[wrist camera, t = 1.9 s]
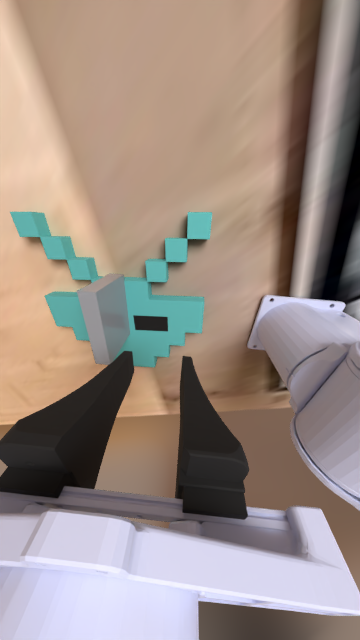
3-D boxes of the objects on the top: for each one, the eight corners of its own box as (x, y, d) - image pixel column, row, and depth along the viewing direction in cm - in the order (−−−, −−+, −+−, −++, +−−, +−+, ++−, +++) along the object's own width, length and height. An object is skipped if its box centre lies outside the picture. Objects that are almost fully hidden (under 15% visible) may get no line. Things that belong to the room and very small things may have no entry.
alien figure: (29, 213, 19) (80, 352, 28) (9, 211, 17) (71, 362, 26) (210, 214, 17) (198, 359, 27) (212, 212, 15) (198, 370, 25)
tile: (123, 274, 19) (95, 292, 14) (130, 333, 23) (110, 364, 17) (109, 273, 19) (76, 291, 14) (118, 332, 23) (95, 363, 18)
